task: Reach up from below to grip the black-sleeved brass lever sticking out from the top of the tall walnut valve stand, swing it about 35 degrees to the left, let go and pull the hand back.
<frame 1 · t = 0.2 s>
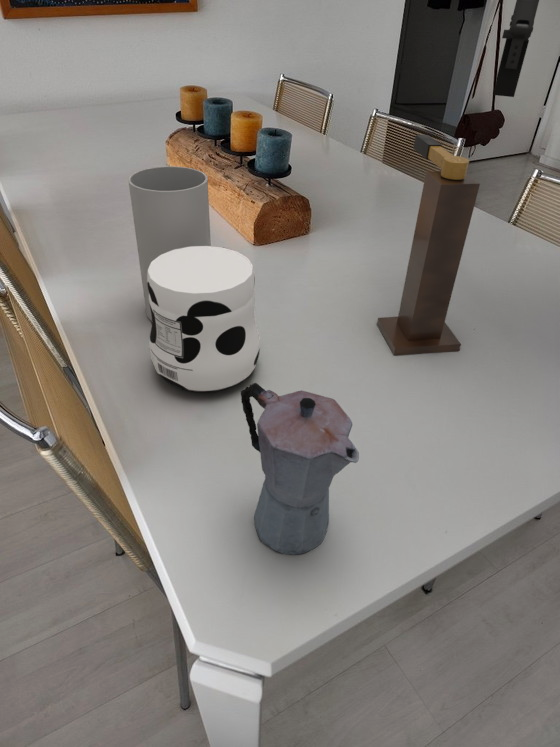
hand: (504, 87, 79), 40 cm above the table, tool pointing down, fingers open, 13 cm apart
valve stand: (416, 337, 98), on the table
lever: (438, 155, 85), point 30 cm above the table, hinge at 0.0°
moka pot: (287, 524, 65), on the table
cylinder vase: (180, 313, 102), on the table
milk container: (206, 369, 89), on the table
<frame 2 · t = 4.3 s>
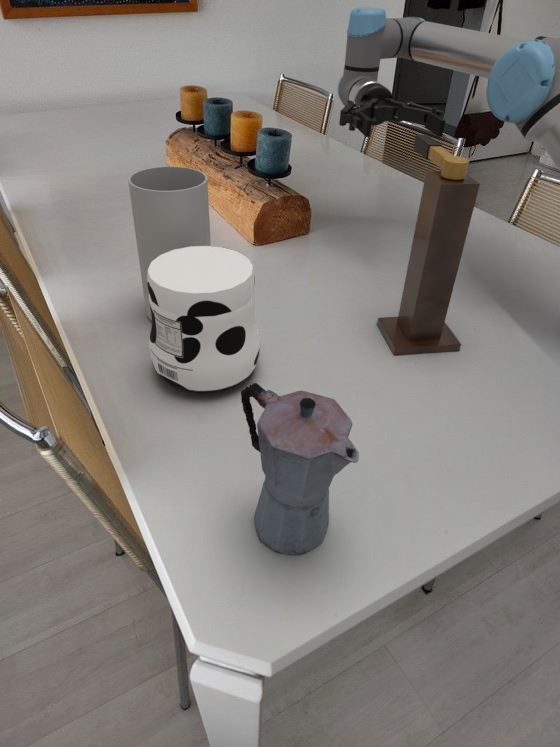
hand: (405, 128, 97), 30 cm above the table, tool horizontal, fingers open, 13 cm apart
nothing on the table moved.
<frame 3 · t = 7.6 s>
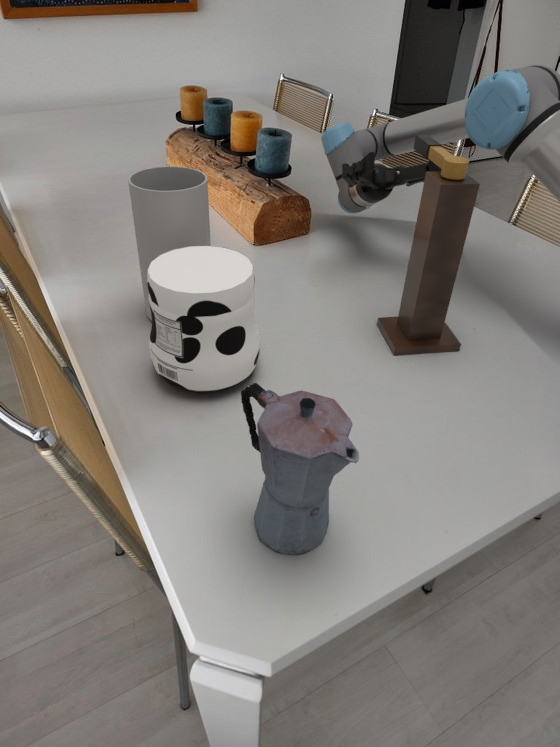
hand: (409, 159, 96), 26 cm above the table, tool pointing upward, fingers open, 13 cm apart
nothing on the table moved.
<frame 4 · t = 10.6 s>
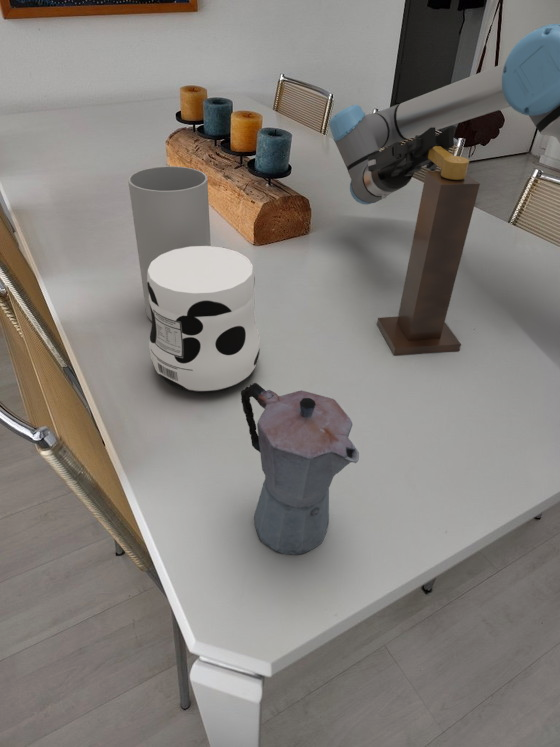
hand: (442, 136, 83), 33 cm above the table, tool pointing upward, fingers closed on lever, 2 cm apart
lever: (438, 155, 85), point 30 cm above the table, hinge at 0.0°, touching gripper
everything else where it was.
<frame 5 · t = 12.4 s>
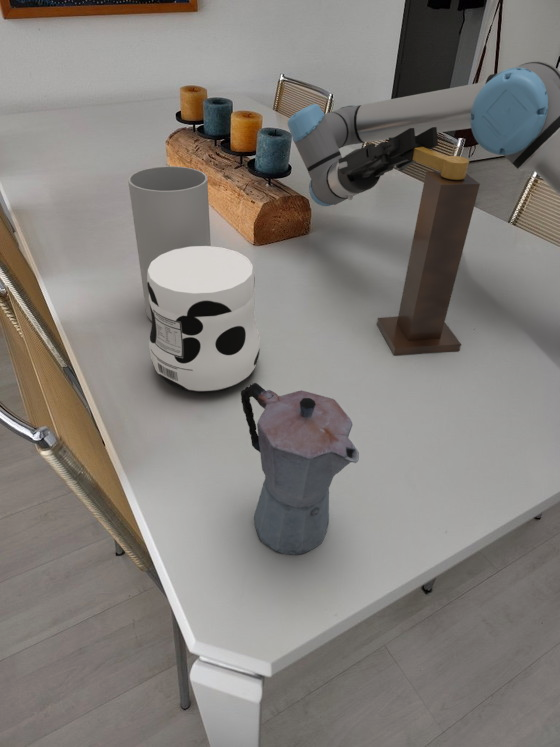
hand: (423, 137, 82), 33 cm above the table, tool pointing upward, fingers closed on lever, 3 cm apart
lever: (426, 156, 84), point 30 cm above the table, hinge at 21.7°, touching gripper
everything else where it was.
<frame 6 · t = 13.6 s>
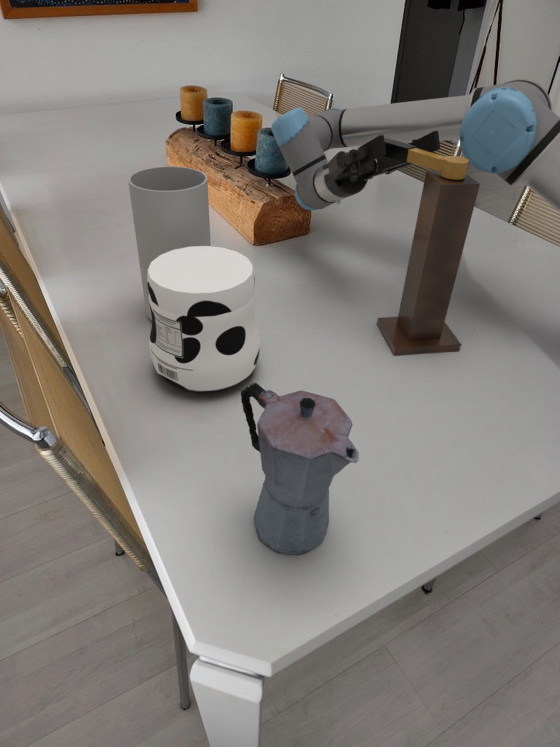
hand: (410, 142, 82), 32 cm above the table, tool pointing upward, fingers open, 9 cm apart
lever: (420, 157, 84), point 30 cm above the table, hinge at 32.7°
everything else where it was.
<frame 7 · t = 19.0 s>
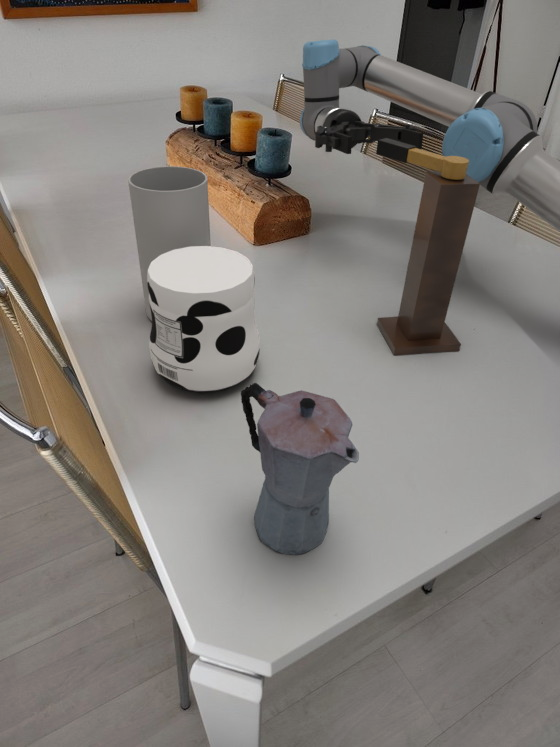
hand: (385, 143, 94), 29 cm above the table, tool horizontal, fingers open, 13 cm apart
nothing on the table moved.
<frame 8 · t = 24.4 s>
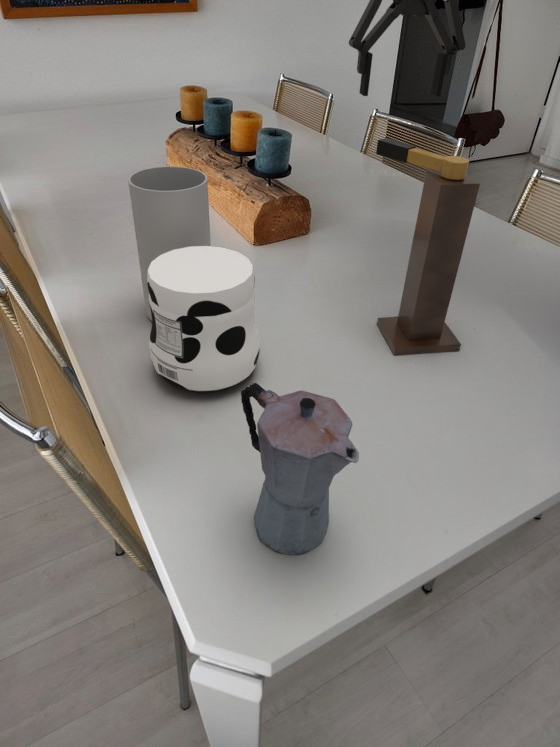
hand: (399, 95, 98), 35 cm above the table, tool pointing down, fingers open, 13 cm apart
nothing on the table moved.
at the end: lever at +33° (first picture: +0°); moka pot moved 0.2 cm from its start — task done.
